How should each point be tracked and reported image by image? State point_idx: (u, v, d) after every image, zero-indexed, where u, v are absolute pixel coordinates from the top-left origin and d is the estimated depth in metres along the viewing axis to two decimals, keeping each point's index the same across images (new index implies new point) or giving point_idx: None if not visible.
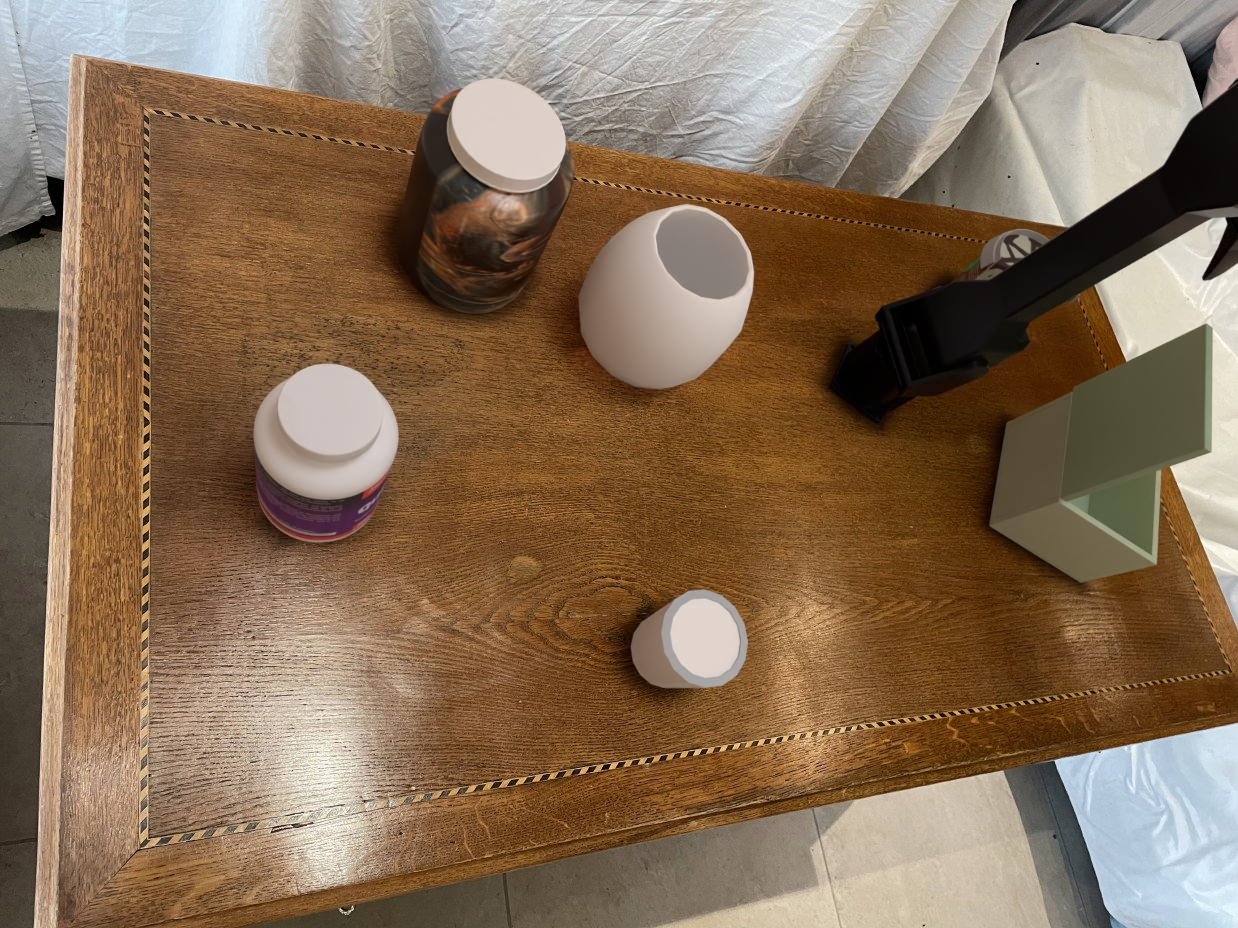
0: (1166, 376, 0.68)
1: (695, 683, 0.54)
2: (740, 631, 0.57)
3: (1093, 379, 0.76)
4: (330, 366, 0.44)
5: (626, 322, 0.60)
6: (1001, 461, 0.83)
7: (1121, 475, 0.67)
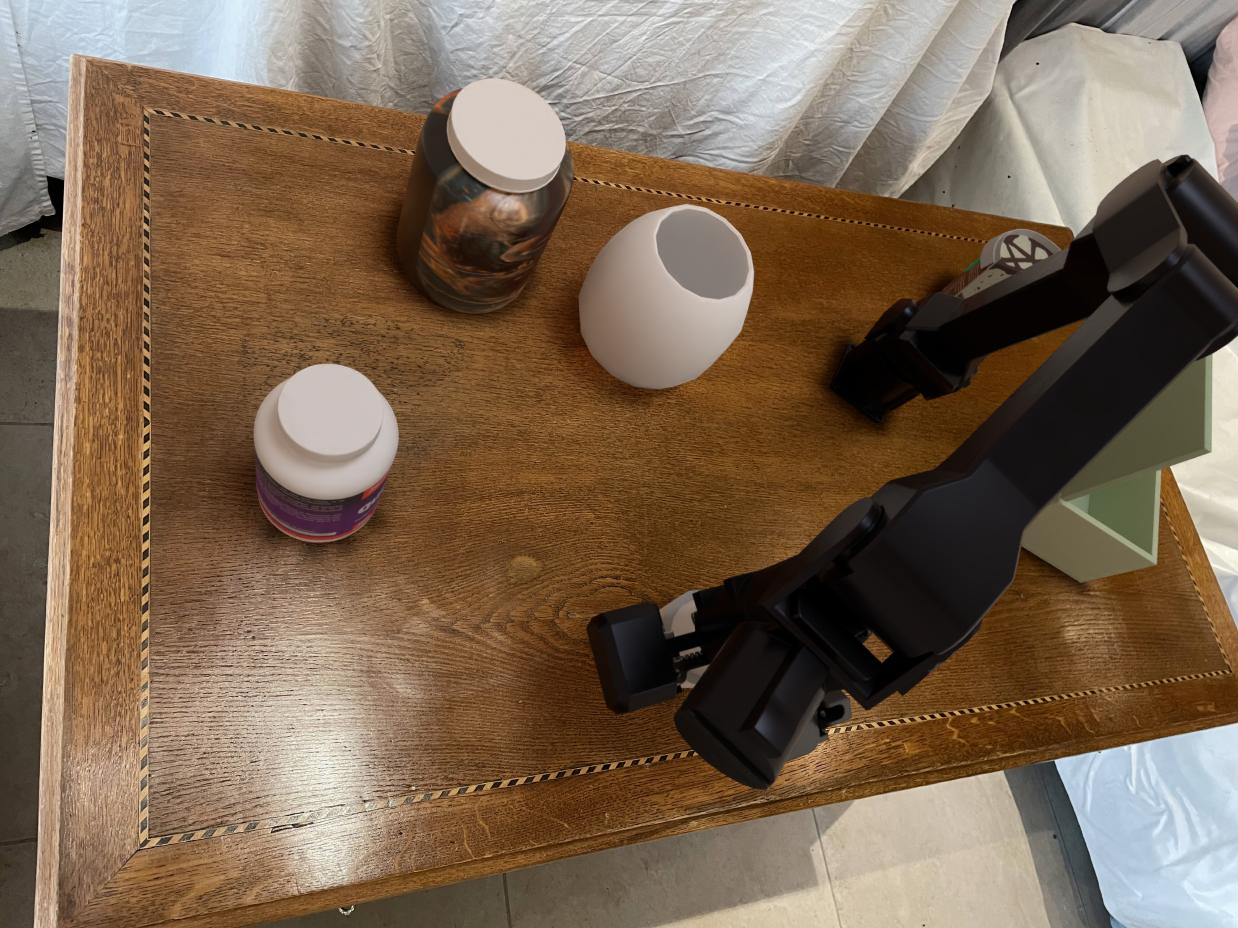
0: None
1: (695, 683, 0.54)
2: None
3: None
4: (330, 366, 0.44)
5: (626, 322, 0.60)
6: None
7: (1121, 475, 0.67)
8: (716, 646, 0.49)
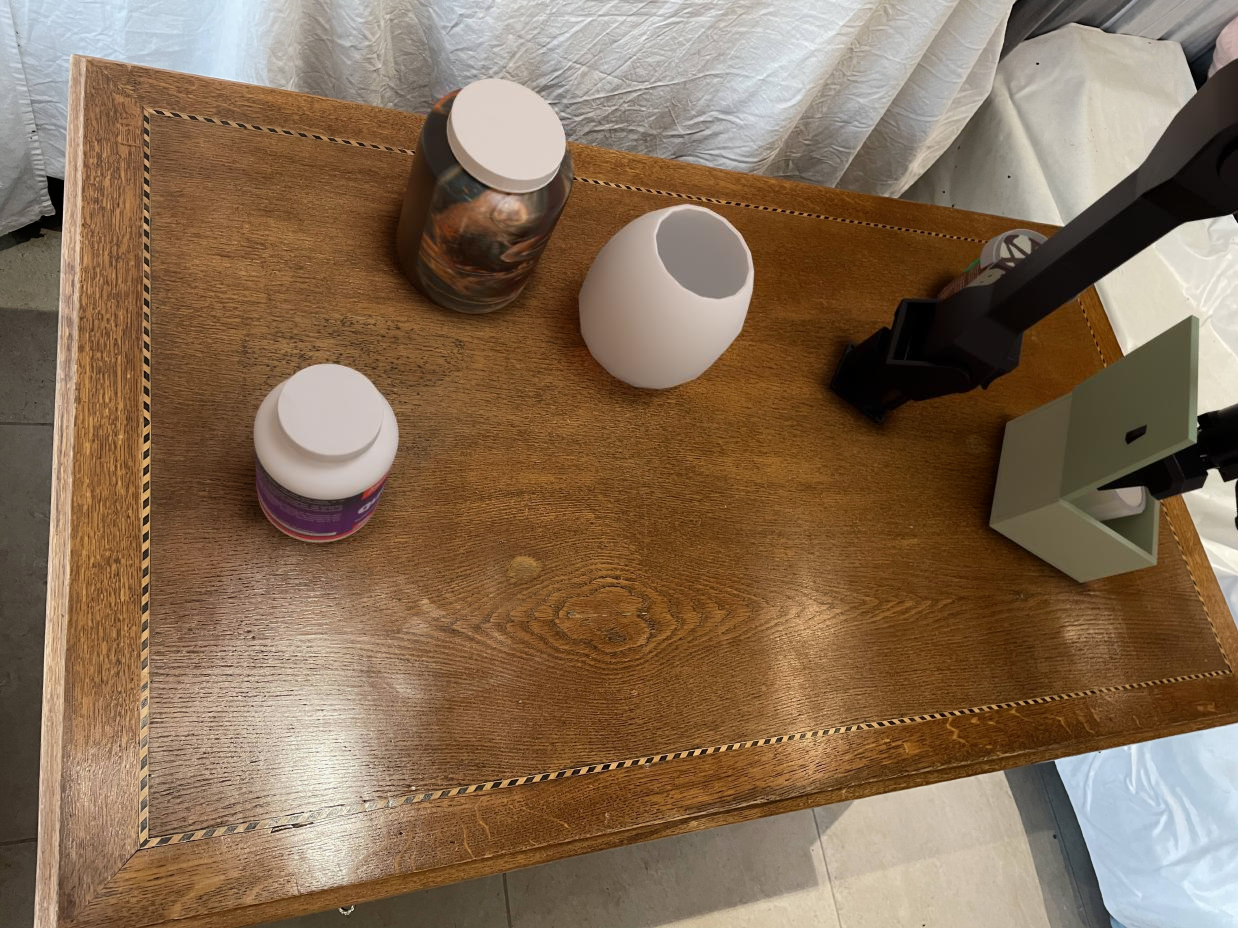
0: (1156, 370, 0.68)
1: (1128, 510, 0.76)
2: None
3: (1090, 378, 0.76)
4: (330, 366, 0.44)
5: (626, 322, 0.60)
6: (1001, 461, 0.83)
7: (1114, 471, 0.67)
8: (1232, 449, 0.65)
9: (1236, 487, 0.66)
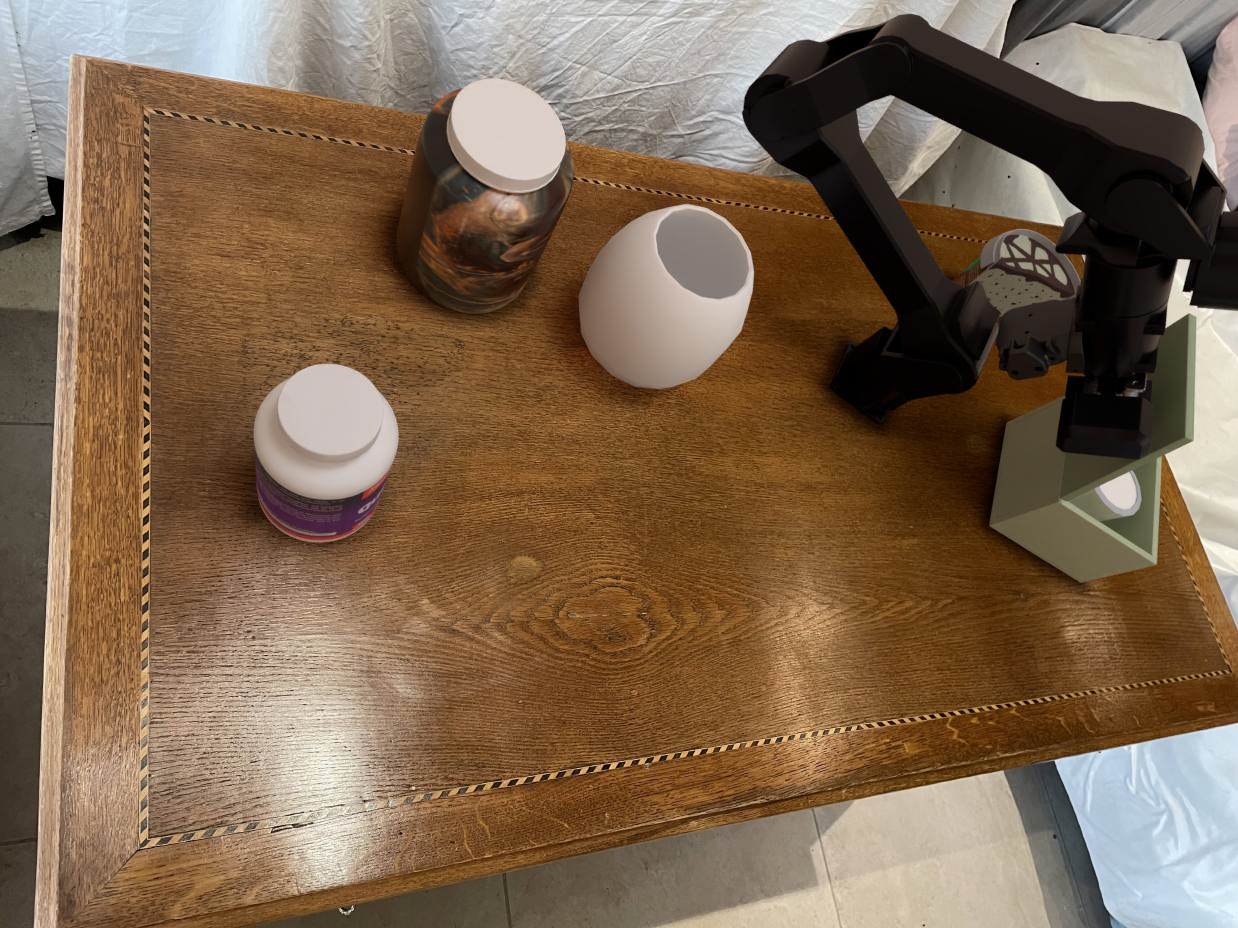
0: None
1: (1118, 513, 0.76)
2: (1133, 479, 0.79)
3: None
4: (330, 366, 0.44)
5: (626, 322, 0.60)
6: (1001, 461, 0.83)
7: (1112, 471, 0.67)
8: None
9: None
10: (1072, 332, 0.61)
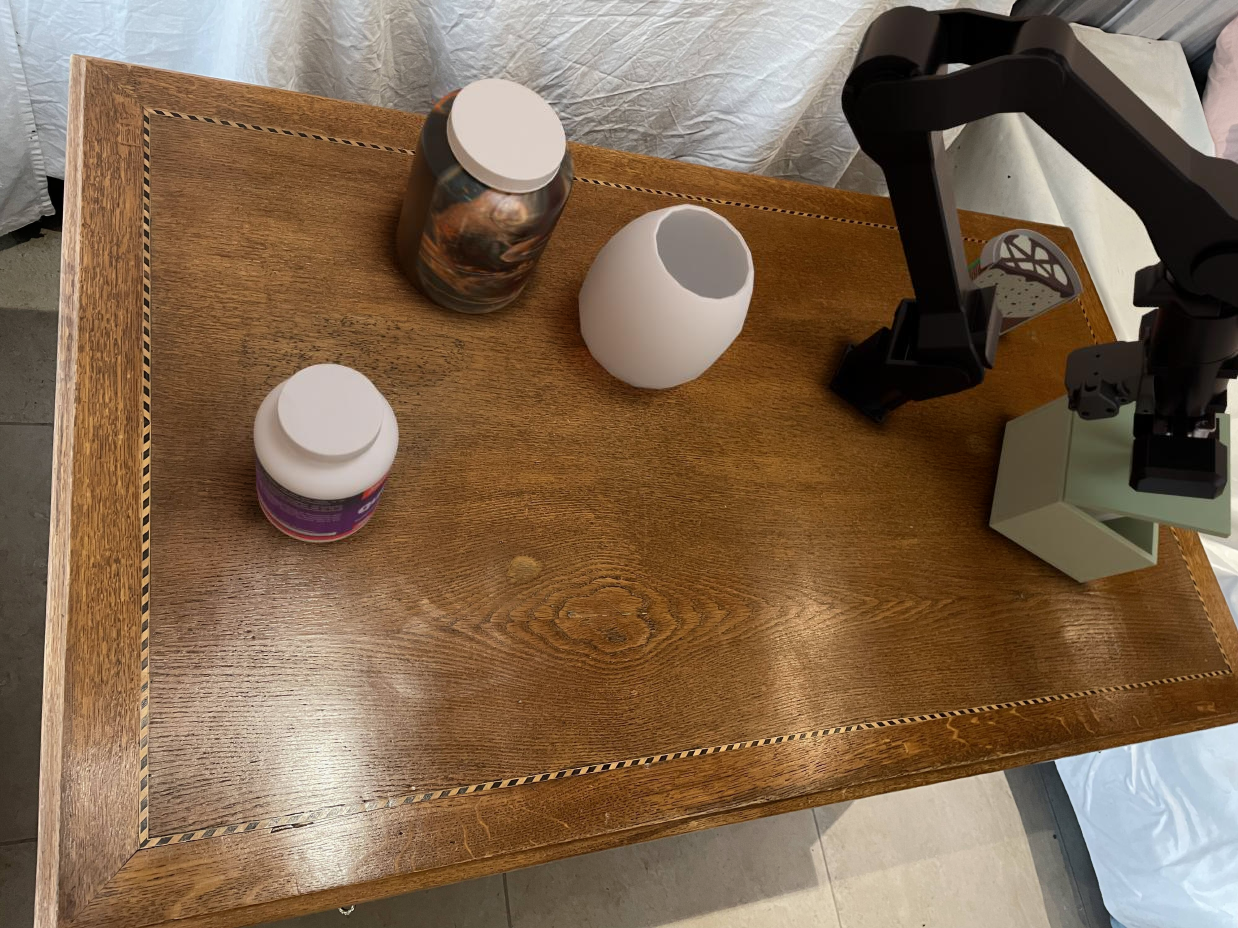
0: None
1: None
2: None
3: None
4: (330, 366, 0.44)
5: (626, 322, 0.60)
6: (1001, 461, 0.83)
7: (1139, 513, 0.70)
8: None
9: None
10: (1144, 375, 0.63)
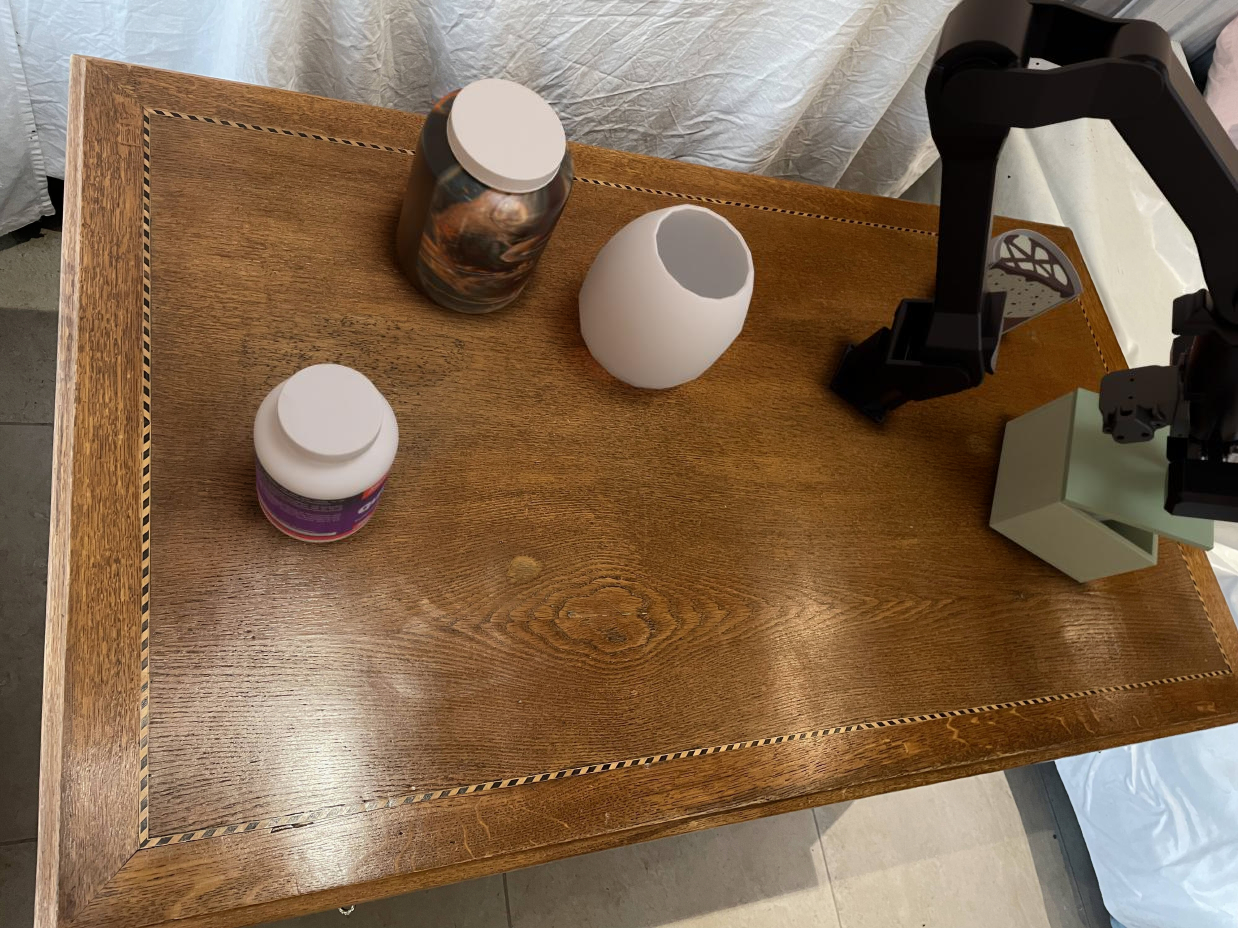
0: None
1: None
2: None
3: None
4: (330, 366, 0.44)
5: (626, 322, 0.60)
6: (1001, 461, 0.83)
7: (1133, 520, 0.71)
8: None
9: None
10: (1180, 401, 0.63)
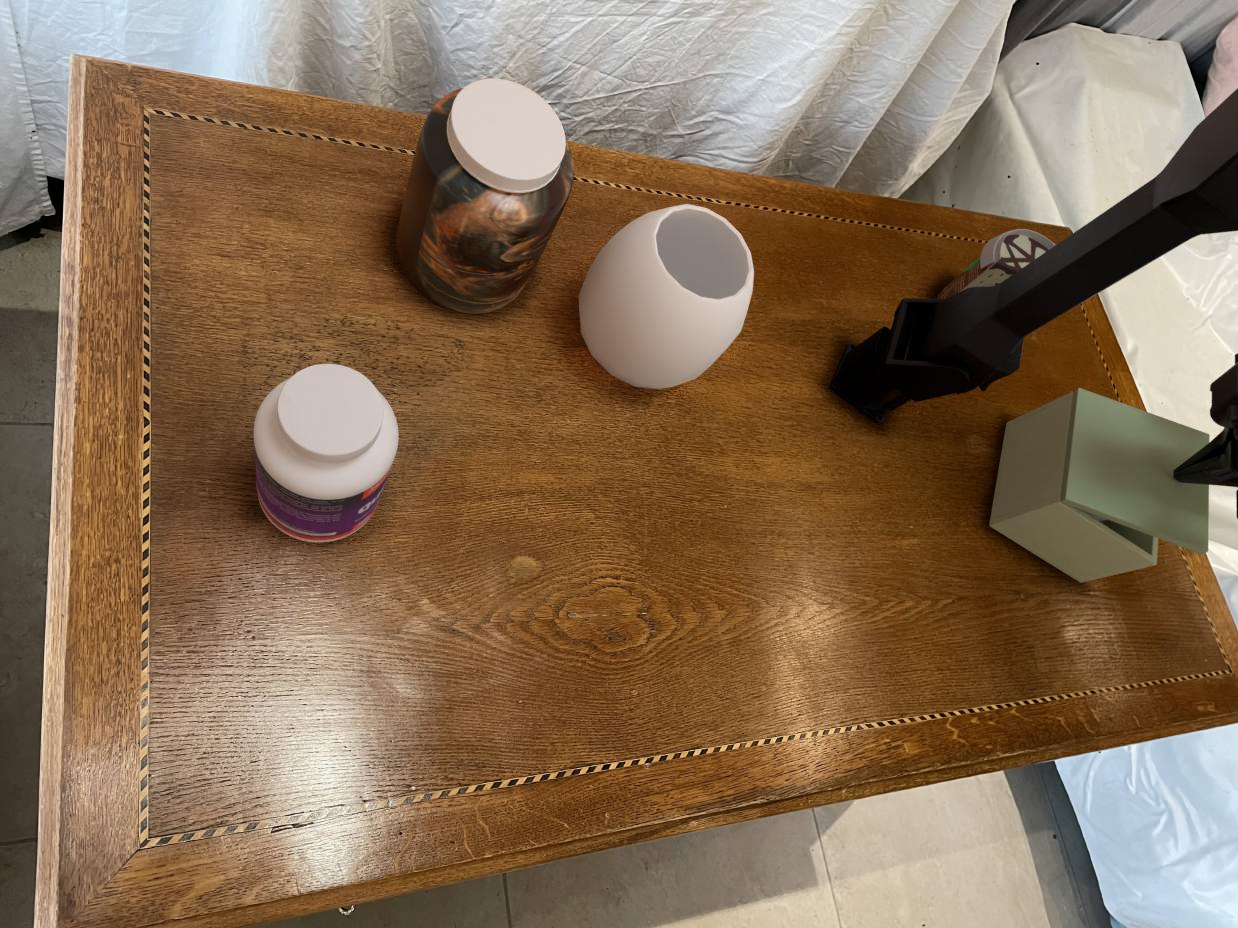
0: (1174, 456, 0.75)
1: None
2: None
3: (1101, 397, 0.77)
4: (330, 366, 0.44)
5: (626, 322, 0.60)
6: (1001, 461, 0.83)
7: (1131, 521, 0.71)
8: None
9: None
10: None
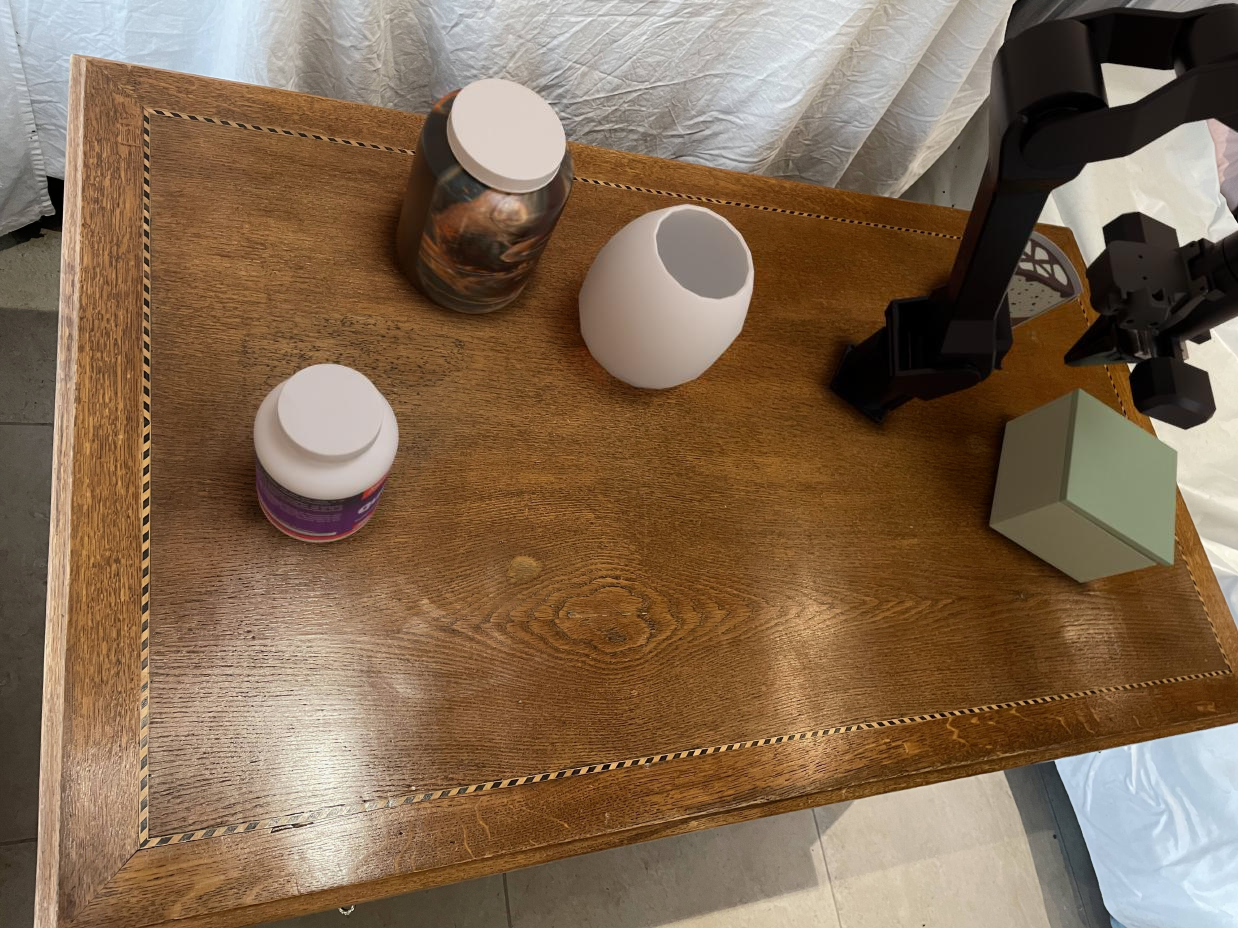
0: (1151, 469, 0.77)
1: None
2: None
3: (1097, 401, 0.78)
4: (330, 366, 0.44)
5: (626, 322, 0.60)
6: (1001, 461, 0.83)
7: (1117, 529, 0.72)
8: None
9: None
10: (1199, 296, 0.58)
